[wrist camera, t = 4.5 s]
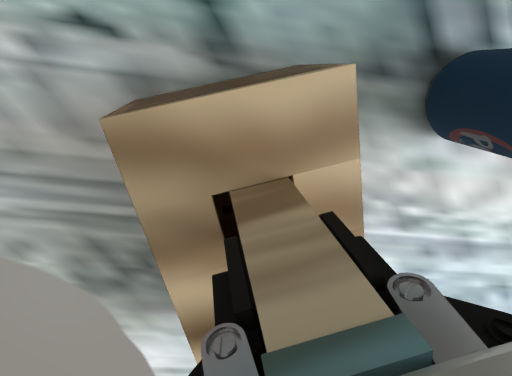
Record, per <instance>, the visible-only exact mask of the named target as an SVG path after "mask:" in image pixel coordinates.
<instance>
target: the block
mask: <svg viewBox="0 0 512 376" xmlns="http://www.w3.org/2000/svg"><path fill="white" fill-rule="evenodd" d="M229 192H230V197H231V201H232V205H233V209H234V214H235V218H236V222H237V226H238V231H239V235H240V239H241V244H242V248H243V252H244V256H245V261H246V265H247V269H248V273H249V278H250V282H251V286H252V291H253V295H254V299H255V303H256V308H257V312H258V316H259V320H260V325H261V329H262V333H263V338H264V342H265V346H266V350H267V353H265V354H262V355H261V359H262V364H263V368H264V373H265V376H400V375H403V374H406V373H409V372H413V371H416V370H419V369H422V368H426V367H429V366H432V360H433V349H432V348H431V346H430V345H429V344H428V343H427V341H426V340H425V339H424V338H423V336H422V335H421V334H420V333H419V332H418V330H417V329H416V328H415V327H414V325H413V324H412V323H411V322H410V320H409V319H408V318H407V317H406V316H405V314H404V313H401V314H398V315H394V314H393V313H392V311H391V310H390V309H389V308H388V306H387V305H386V304H385V302H384V301H383V300H382V298H381V297H380V296H379V295H378V293H377V292H376V291H375V289H374V288H373V287H372V285H371V284H370V283H369V281H368V280H367V279H366V278H365V276H364V275H363V274H362V272H361V271H360V270H359V268H358V267H357V266H356V265H355V263H354V262H353V261H352V259H351V258H350V257H349V255H348V254H347V253H346V252H345V250H344V249H343V248H342V246H341V245H340V244H339V242H338V241H337V240H336V239H335V237H334V236H333V235H332V233H331V232H330V231H329V229H328V228H327V227H326V225H325V224H324V223H323V222H322V220H321V219H320V218H319V216H318V215H317V214H316V212H315V211H314V210H313V209H312V207H311V206H310V205H309V203H308V202H307V201H306V199H305V198H304V197H303V196H302V194H301V193H300V192H299V190H298V189H297V188H296V186H295V185H294V184H293V183H292V181H291V180H290V179H289V177H288V176H287V177H283V178H279V179H275V180H271V181H267V182H263V183H259V184H255V185H251V186H247V187H243V188H239V189H235V190H231V191H229Z"/></svg>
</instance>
